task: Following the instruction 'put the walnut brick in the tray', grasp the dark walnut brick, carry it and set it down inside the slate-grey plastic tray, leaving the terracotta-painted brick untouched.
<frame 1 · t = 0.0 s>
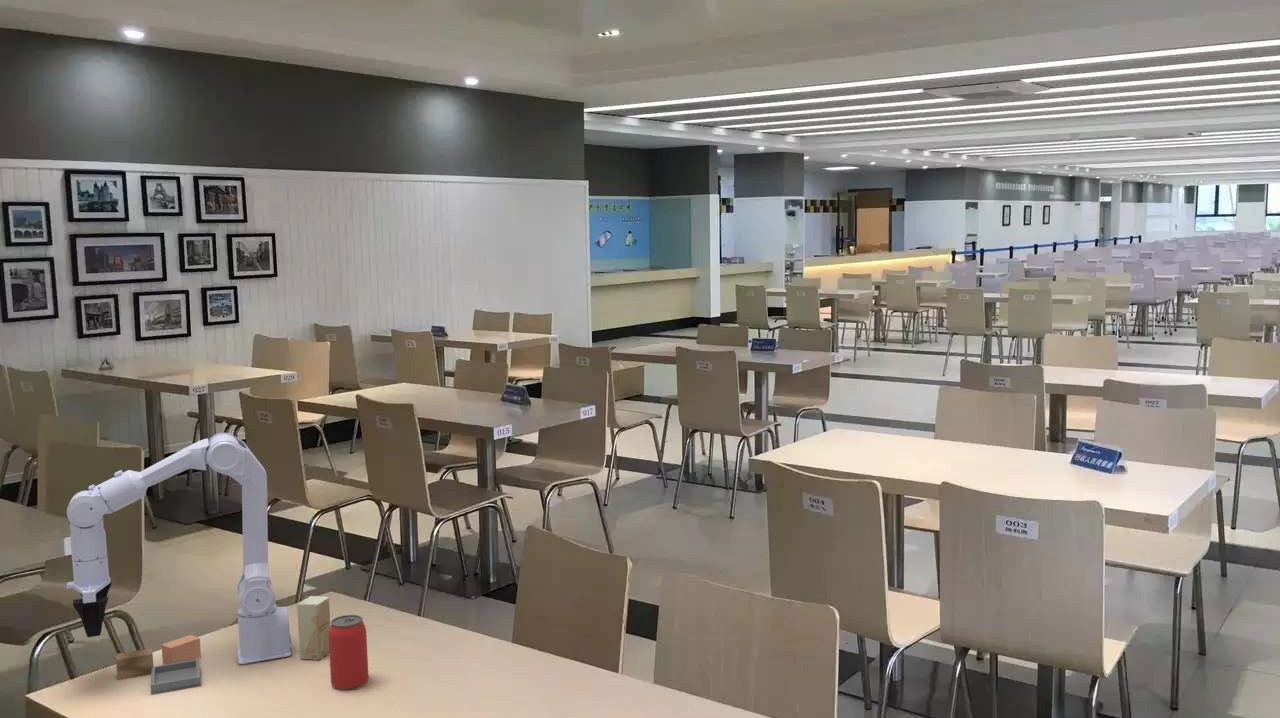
hand: (95, 628, 190), 10 cm above the table, fingers open, 7 cm apart
box: (316, 655, 202), on the table
terracotta brick: (182, 661, 201), on the table
walnut brick: (135, 674, 195), on the table
beer can: (350, 684, 188), on the table
tray: (176, 680, 191), on the table
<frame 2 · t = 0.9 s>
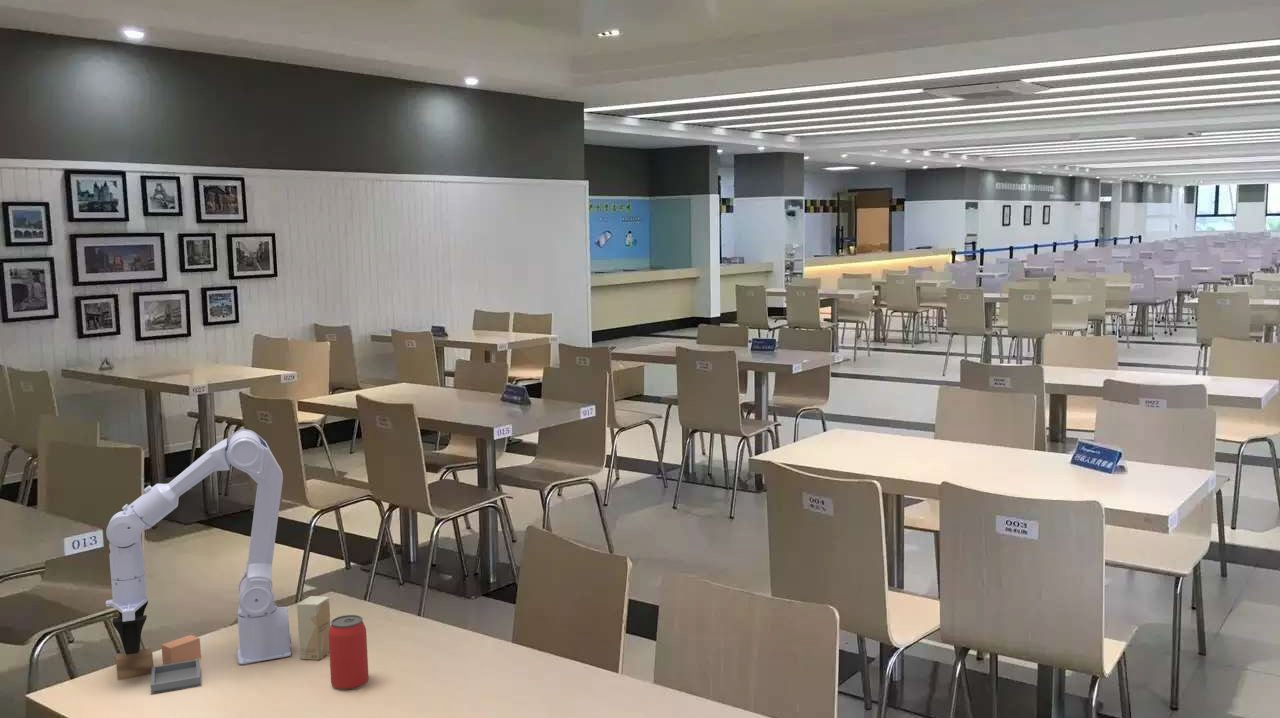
hand: (133, 646, 194), 5 cm above the table, fingers open, 7 cm apart
nothing on the table moved.
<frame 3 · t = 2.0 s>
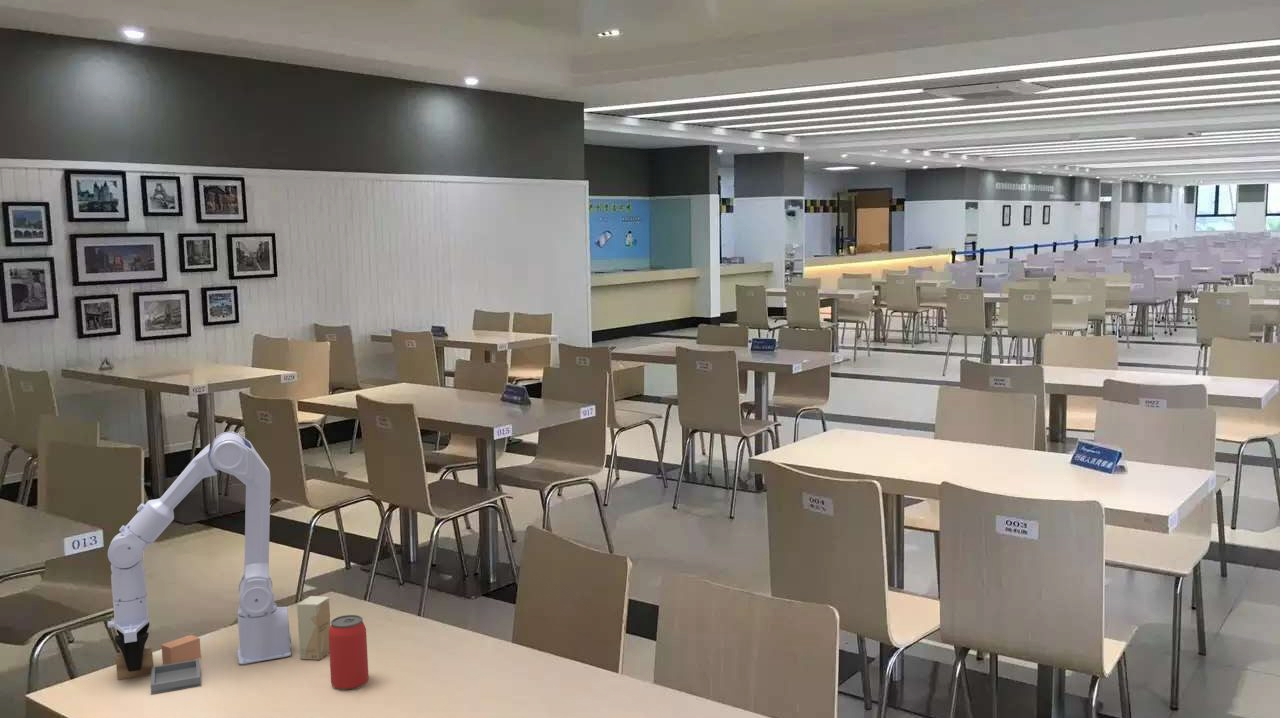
hand: (135, 666, 195), 1 cm above the table, fingers closed on walnut brick, 3 cm apart
walnut brick: (135, 673, 195), on the table, touching gripper
everything else where it was.
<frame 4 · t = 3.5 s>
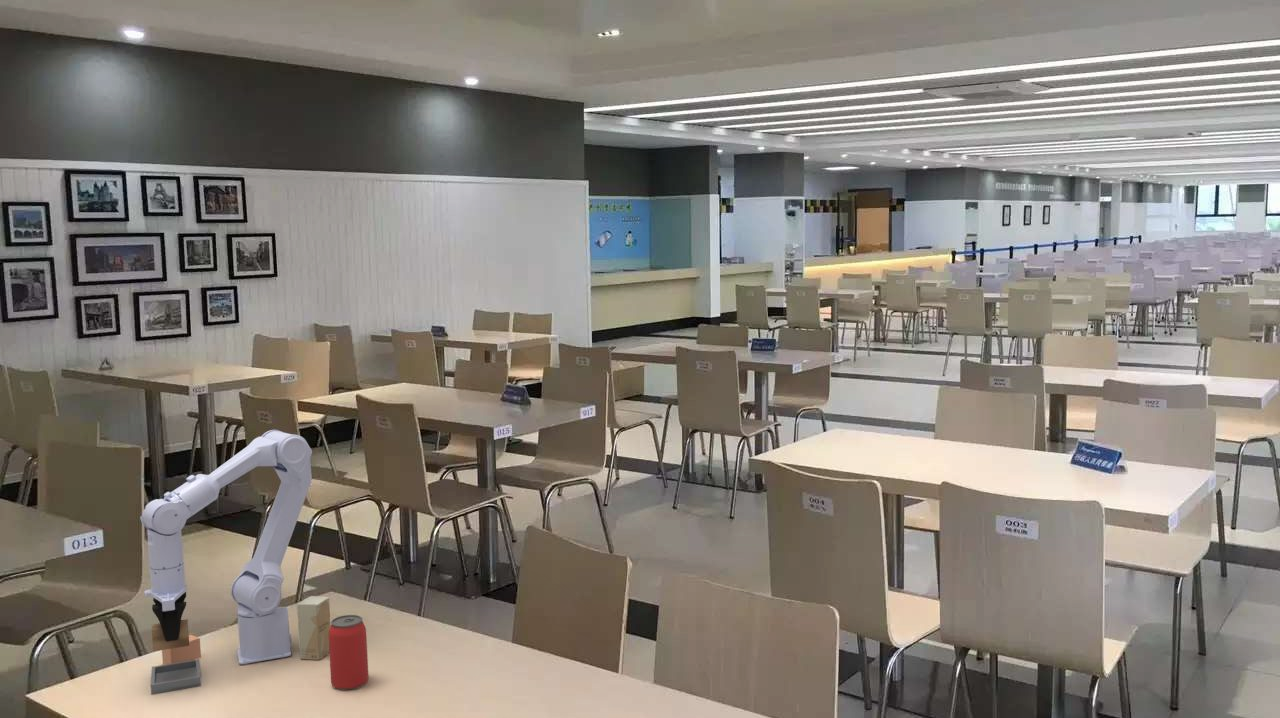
hand: (172, 636, 191), 8 cm above the table, fingers closed on walnut brick, 3 cm apart
walnut brick: (171, 645, 191), point 7 cm above the table, touching gripper
everything else where it was.
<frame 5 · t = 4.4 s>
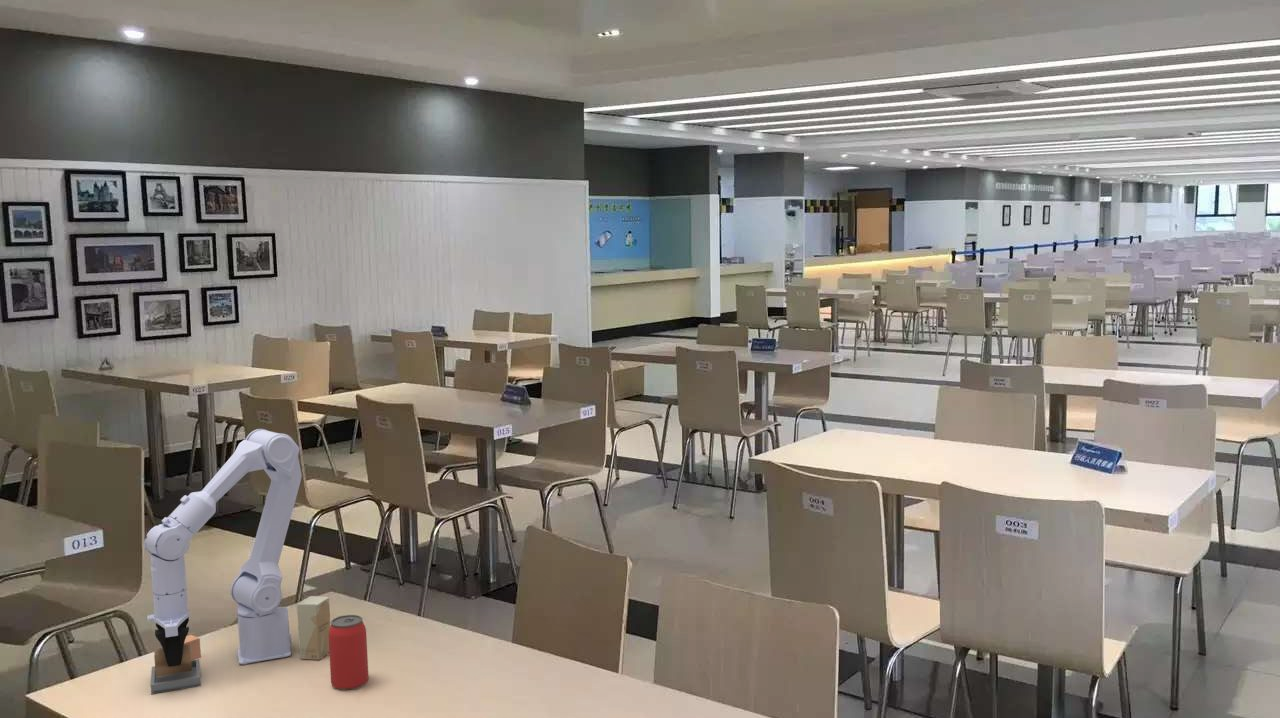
hand: (174, 661, 191), 4 cm above the table, fingers closed on walnut brick, 3 cm apart
walnut brick: (173, 670, 191), point 2 cm above the table, touching gripper
everything else where it was.
when the fingers open (3 cm above the table, at t = 4.9 s): walnut brick stays where it is, resting on tray.
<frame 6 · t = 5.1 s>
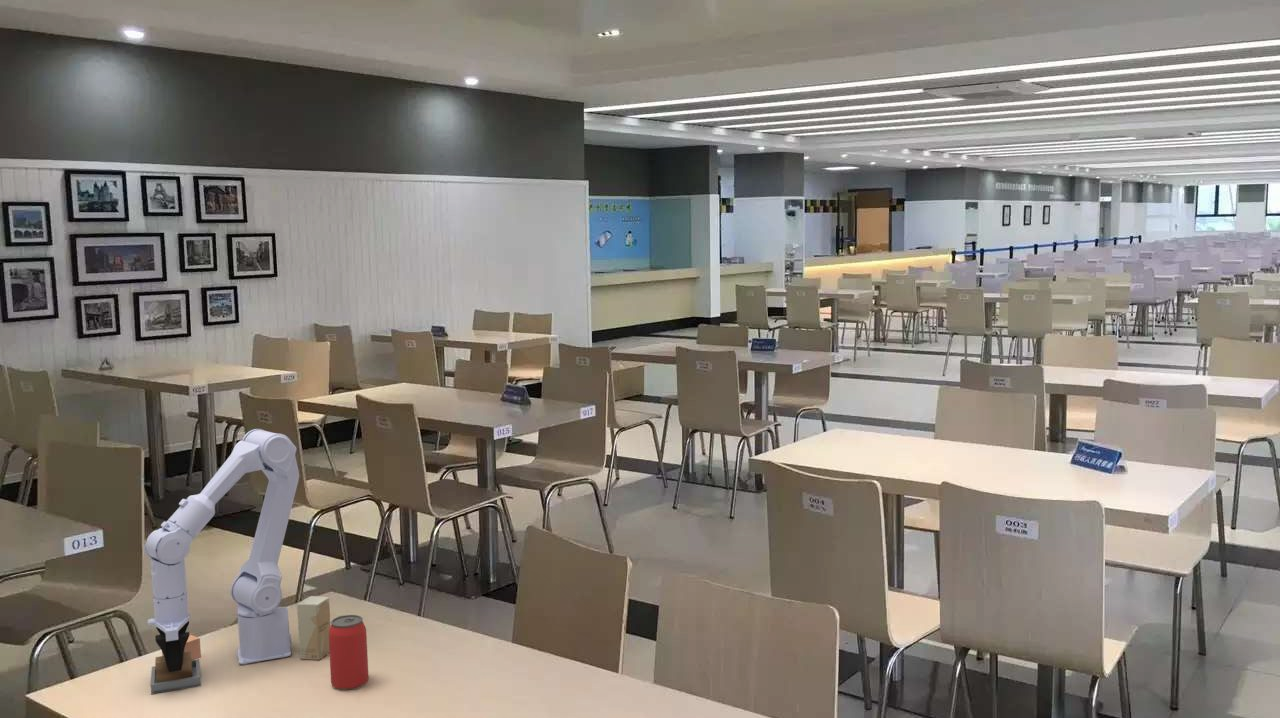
hand: (175, 665, 191), 3 cm above the table, fingers open, 5 cm apart
walnut brick: (174, 678, 191), resting on tray
everything else where it was.
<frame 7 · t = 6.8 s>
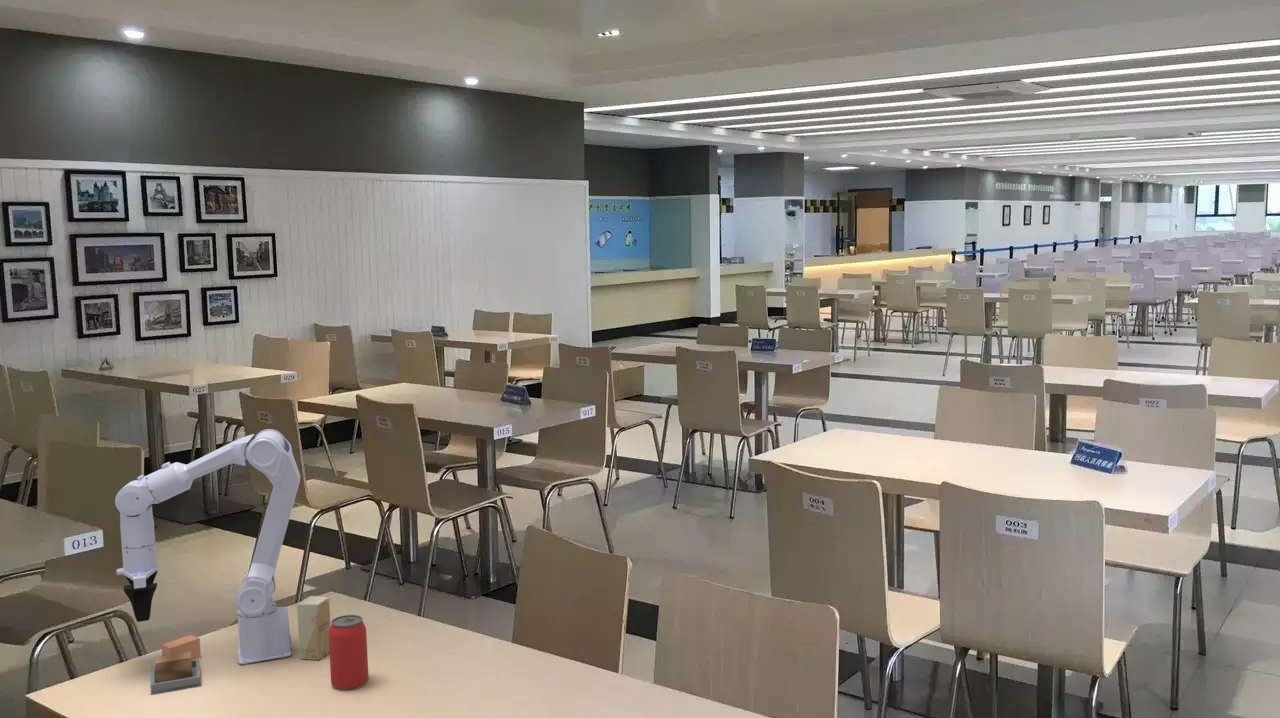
hand: (143, 614, 197), 10 cm above the table, fingers open, 7 cm apart
nothing on the table moved.
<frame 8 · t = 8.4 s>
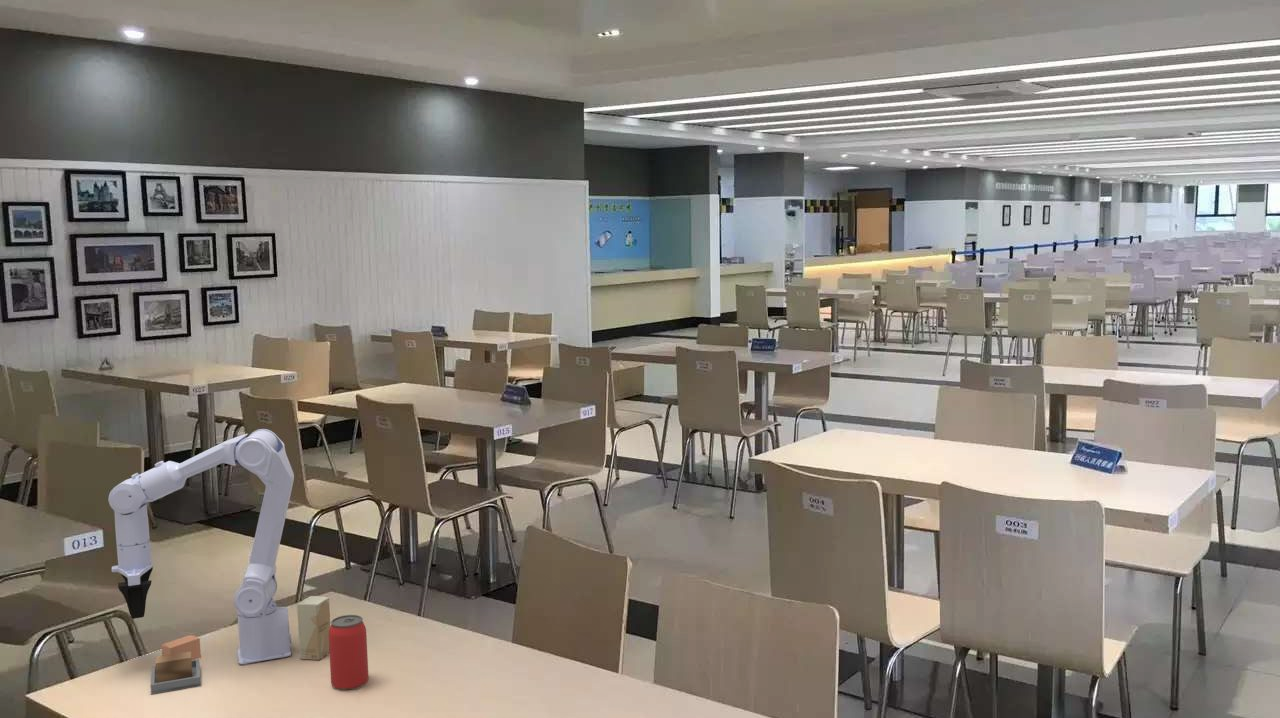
hand: (138, 611, 199), 10 cm above the table, fingers open, 7 cm apart
nothing on the table moved.
at the end: walnut brick inside the target area on the tray (0.2 cm from its centre), point 0.5 cm above the tray's base; the gripper is holding nothing; terracotta brick moved 0.2 cm from its start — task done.
